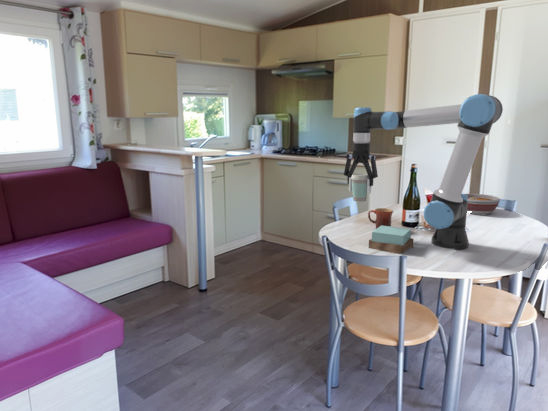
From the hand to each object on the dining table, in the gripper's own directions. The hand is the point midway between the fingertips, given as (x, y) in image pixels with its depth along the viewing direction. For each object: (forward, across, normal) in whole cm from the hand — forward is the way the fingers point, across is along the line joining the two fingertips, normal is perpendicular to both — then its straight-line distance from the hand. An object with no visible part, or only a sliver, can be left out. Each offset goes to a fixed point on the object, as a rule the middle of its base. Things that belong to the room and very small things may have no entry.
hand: (359, 192), depth 203 cm
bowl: (+21, -31, -86) cm, 94 cm away
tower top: (+18, -20, +8) cm, 28 cm away
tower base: (+22, -20, +8) cm, 30 cm away
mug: (+21, -3, -17) cm, 27 cm away
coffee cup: (+4, 0, 0) cm, 4 cm away
